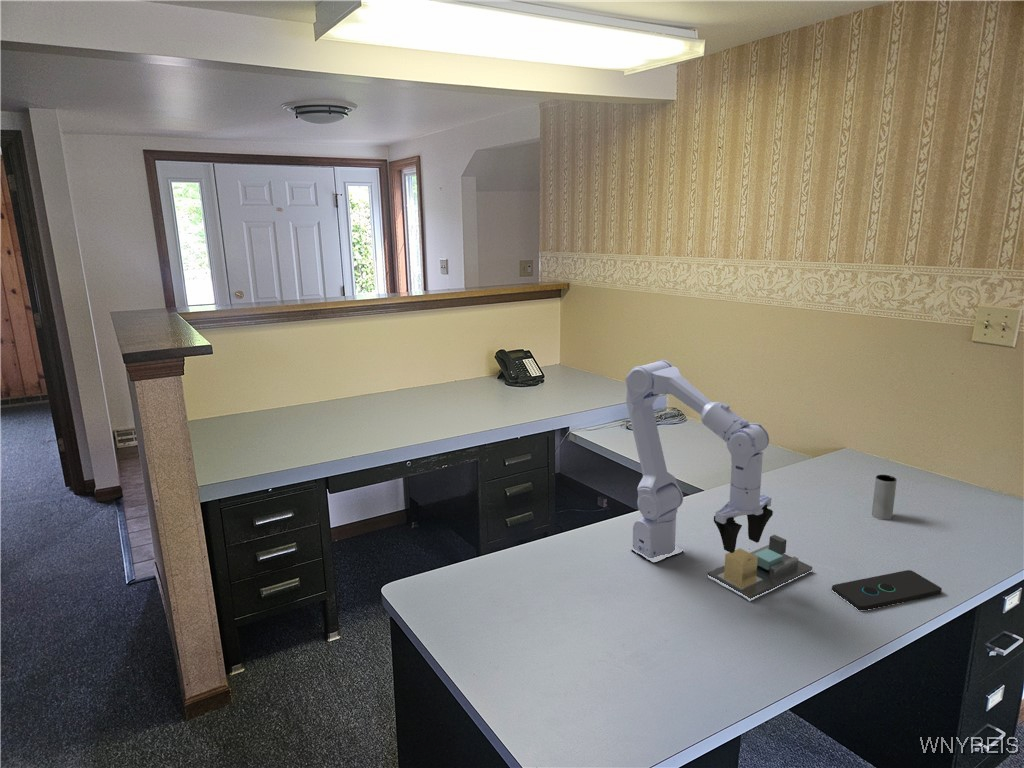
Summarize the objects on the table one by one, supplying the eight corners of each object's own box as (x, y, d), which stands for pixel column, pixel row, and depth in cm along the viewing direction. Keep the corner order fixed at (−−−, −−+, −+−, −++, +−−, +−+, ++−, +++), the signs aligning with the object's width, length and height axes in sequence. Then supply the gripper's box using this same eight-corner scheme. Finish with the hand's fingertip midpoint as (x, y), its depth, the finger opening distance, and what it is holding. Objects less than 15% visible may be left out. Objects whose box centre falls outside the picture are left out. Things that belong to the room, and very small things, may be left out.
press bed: (750, 601, 130) (751, 587, 129) (707, 577, 139) (708, 564, 138) (812, 571, 140) (813, 558, 139) (768, 551, 149) (769, 538, 148)
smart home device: (829, 584, 133) (909, 568, 138) (829, 591, 133) (908, 575, 138) (861, 606, 125) (944, 588, 130) (860, 614, 125) (943, 596, 130)
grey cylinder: (887, 512, 166) (891, 474, 164) (895, 520, 162) (900, 481, 159) (868, 512, 167) (872, 474, 164) (876, 519, 162) (880, 481, 160)
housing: (741, 585, 133) (743, 563, 131) (724, 575, 136) (725, 554, 135) (756, 578, 135) (757, 556, 134) (738, 569, 139) (739, 548, 137)
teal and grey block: (768, 570, 137) (770, 548, 136) (752, 562, 140) (754, 541, 139) (786, 562, 140) (788, 540, 139) (771, 554, 143) (772, 533, 142)
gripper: (737, 499, 124) (733, 564, 127) (785, 482, 131) (781, 543, 134) (708, 487, 129) (705, 549, 133) (756, 471, 137) (752, 530, 140)
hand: (741, 545), depth 134 cm, fingers open, 7 cm apart
